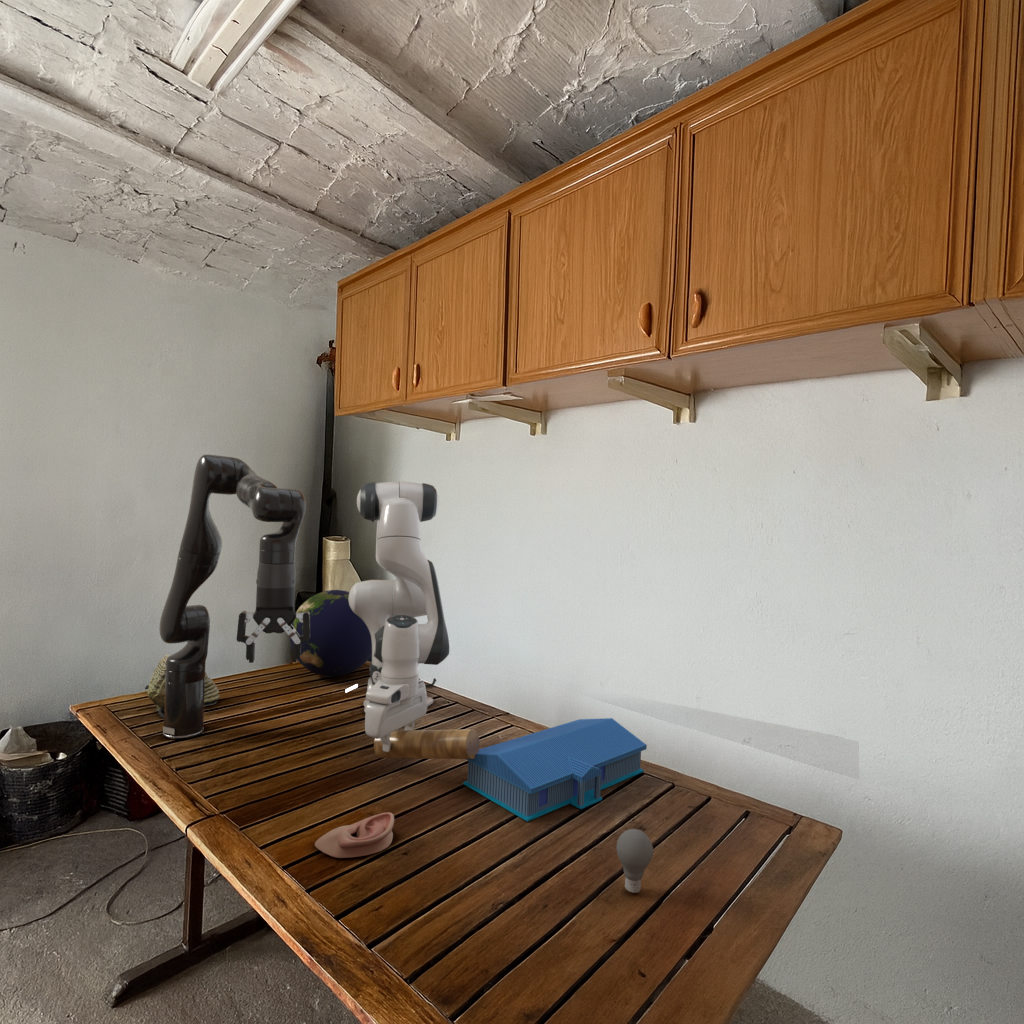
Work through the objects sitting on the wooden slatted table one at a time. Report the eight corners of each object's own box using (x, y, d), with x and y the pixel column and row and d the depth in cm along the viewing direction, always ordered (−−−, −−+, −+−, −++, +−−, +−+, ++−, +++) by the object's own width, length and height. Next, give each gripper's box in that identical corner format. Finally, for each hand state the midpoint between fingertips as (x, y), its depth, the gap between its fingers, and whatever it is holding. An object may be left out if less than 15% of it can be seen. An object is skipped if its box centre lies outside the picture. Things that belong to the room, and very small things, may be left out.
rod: (481, 753, 142) (477, 725, 143) (467, 762, 136) (464, 734, 137) (391, 753, 152) (388, 727, 153) (375, 761, 147) (372, 735, 147)
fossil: (144, 707, 182) (145, 655, 182) (212, 696, 194) (213, 647, 194) (151, 716, 175) (153, 662, 175) (221, 703, 188) (223, 653, 188)
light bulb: (610, 879, 108) (613, 822, 108) (644, 879, 109) (647, 822, 109) (619, 902, 102) (622, 840, 102) (655, 901, 103) (658, 840, 103)
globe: (268, 679, 214) (272, 591, 213) (326, 660, 242) (329, 582, 241) (341, 693, 203) (345, 600, 202) (393, 671, 230) (396, 589, 230)
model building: (538, 828, 124) (540, 777, 124) (462, 783, 143) (463, 739, 142) (655, 776, 151) (657, 734, 151) (578, 743, 169) (579, 706, 169)
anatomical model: (306, 830, 112) (337, 801, 124) (305, 853, 112) (336, 821, 124) (376, 842, 110) (401, 811, 121) (375, 865, 110) (400, 831, 121)
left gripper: (313, 582, 137) (310, 656, 137) (242, 581, 134) (240, 657, 134) (310, 587, 130) (307, 665, 130) (236, 586, 126) (233, 667, 127)
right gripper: (413, 674, 159) (410, 729, 159) (361, 694, 140) (358, 757, 140) (434, 678, 156) (432, 734, 156) (384, 699, 137) (381, 763, 138)
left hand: (273, 661), depth 132 cm, fingers open, 8 cm apart
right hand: (397, 745), depth 148 cm, fingers closed on rod, 6 cm apart
